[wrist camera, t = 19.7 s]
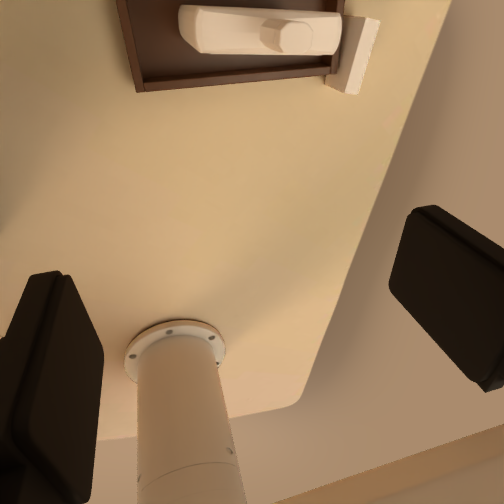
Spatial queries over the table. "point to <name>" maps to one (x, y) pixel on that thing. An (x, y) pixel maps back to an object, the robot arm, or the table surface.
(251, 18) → the perfume bottle
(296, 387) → the table surface
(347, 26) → the eraser
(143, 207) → the table surface
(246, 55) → the tray
